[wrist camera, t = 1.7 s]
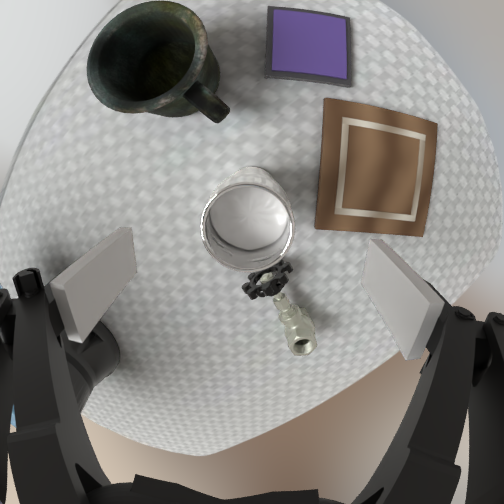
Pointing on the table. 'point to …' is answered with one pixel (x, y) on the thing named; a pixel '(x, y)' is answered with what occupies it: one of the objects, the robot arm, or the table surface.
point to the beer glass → (248, 221)
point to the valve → (284, 307)
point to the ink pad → (308, 46)
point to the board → (374, 170)
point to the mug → (156, 63)
